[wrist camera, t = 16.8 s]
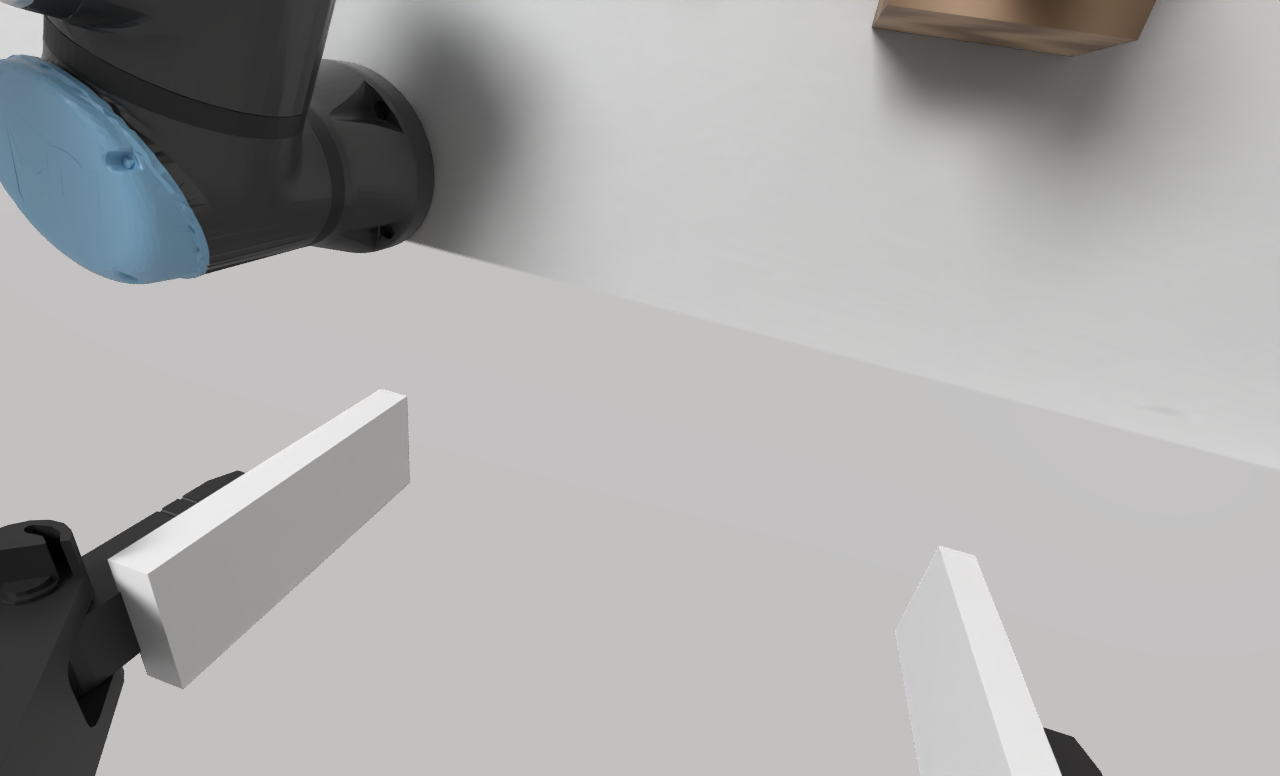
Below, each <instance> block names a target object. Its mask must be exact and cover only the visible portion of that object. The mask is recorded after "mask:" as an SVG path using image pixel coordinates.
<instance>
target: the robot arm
mask: <svg viewBox="0 0 1280 776" xmlns="http://www.w3.org/2000/svg"><path fill="white" fill-rule="evenodd" d="M0 1H1V2H3V3H6V4H8V5H11V6H14V7H17V8H21V9H25V10H28V11H32V12H36V13H40V14H44V30H43V54H42V57H41V58H38V57H34V56H28V55H12V56H10V57H9V58H7V59H2V60H0V182H1V184H2V185H3V187H4V188H5V190H6V191H7V193H8V194H9V195H10V197H11V198H12V199H13V200H14V202H15V203H16V204H17V206H18V208H19V209H20V210H21V212H22V213H23V214H24V215H25V216H26V218H27V219H28V220H29V221H30V223H31V224H32V225H33V226H34V227H35V228H36V229H37V230H38V231H39V232H40V233H41V234H42V235H43V236H44V237H45V238H46V239H47V240H48V241H49V242H50V243H51V244H52V245H54V246H55V247H56V248H57V249H58V250H60V251H61V252H62V253H63V254H65V255H66V256H68V257H69V258H71V259H72V260H73V261H75V262H76V263H78V264H79V265H81V266H82V267H84V268H86V269H88V270H90V271H91V272H93V273H96V274H98V275H100V276H103V277H105V278H108V279H111V280H114V281H118V282H123V283H129V284H149V283H154V282H160V281H165V280H171V279H176V278H185V279H188V278H196V277H199V276H201V275H204V274H207V273H211V272H214V271H218V270H221V269H225V268H229V267H233V266H236V265H240V264H244V263H247V262H251V261H255V260H258V259H262V258H266V257H269V256H273V255H277V254H280V253H284V252H288V251H291V250H295V249H298V248H303V247H307V246H315V247H321V248H327V249H333V250H340V251H346V252H354V253H367V252H374V251H378V250H382V249H385V248H389V247H392V246H395V245H397V244H399V243H402V242H403V241H405V240H406V239H408V238H409V237H410V236H411V235H412V234H414V232H415V231H416V230H417V229H418V228H419V226H420V225H421V223H422V222H423V220H424V218H425V216H426V214H427V212H428V209H429V206H430V203H431V199H432V193H433V182H434V174H433V162H432V156H431V152H430V148H429V144H428V141H427V138H426V135H425V132H424V130H423V128H422V126H421V123H420V121H419V119H418V118H417V116H416V114H415V112H414V111H413V109H412V108H411V106H410V105H409V103H408V102H407V101H406V99H405V98H404V97H403V96H402V94H401V93H400V92H399V91H398V90H397V89H396V88H395V87H394V86H393V85H392V84H391V83H389V82H388V81H387V80H386V79H384V78H383V77H382V76H380V75H379V74H377V73H376V72H374V71H372V70H370V69H368V68H366V67H364V66H361V65H358V64H355V63H350V62H344V61H336V60H328V59H322V55H323V51H324V47H325V43H326V39H327V35H328V31H329V27H330V22H331V18H332V14H333V10H334V6H335V2H336V0H0ZM408 444H409V442H408V410H407V396H405V395H402V394H399V393H395V392H391V391H388V390H384V389H379V390H377V391H376V392H374V393H373V394H371V395H369V396H368V397H367V398H365V399H363V400H361V401H360V402H358V403H357V404H355V405H354V406H352V407H350V408H349V409H347V410H345V411H344V412H342V413H341V414H339V415H338V416H336V417H335V418H333V419H331V420H330V421H328V422H326V423H325V424H323V425H322V426H320V427H318V428H317V429H315V430H314V431H312V432H310V433H309V434H307V435H306V436H304V437H303V438H301V439H299V440H298V441H296V442H294V443H293V444H291V445H290V446H288V447H287V448H285V449H283V450H282V451H280V452H278V453H277V454H275V455H274V456H272V457H270V458H269V459H267V460H266V461H264V462H263V463H261V464H259V465H258V466H256V467H254V468H253V469H251V470H250V471H248V472H247V473H244V472H241V471H235V472H232V473H229V474H226V475H223V476H221V477H218V478H215V479H212V480H209V481H207V482H205V483H204V484H202V485H200V486H199V487H197V488H195V489H194V490H192V491H190V492H189V493H187V494H185V495H184V496H183V498H182V499H181V500H180V499H177V500H175V501H174V502H172V503H170V504H169V505H167V506H165V507H164V508H162V511H161V512H155V513H154V514H152V515H150V516H149V517H147V518H145V519H144V520H142V521H140V522H139V523H137V524H135V525H134V526H132V527H130V528H129V529H127V530H125V531H124V532H122V533H120V534H119V535H117V536H115V537H114V538H112V539H111V540H109V541H107V542H105V543H104V544H102V545H100V546H99V547H97V548H95V549H94V550H92V551H90V552H89V553H87V554H85V555H84V556H82V557H81V555H80V552H79V549H78V547H77V544H76V541H75V539H74V536H73V533H72V531H71V529H70V528H68V527H67V526H66V525H65V524H64V523H61V522H57V521H52V520H33V521H26V522H21V523H16V524H12V525H7V526H4V527H2V528H0V776H95V774H96V770H97V767H98V764H99V761H100V757H101V754H102V751H103V748H104V744H105V741H106V738H107V735H108V731H109V728H110V725H111V722H112V718H113V715H114V712H115V709H116V705H117V702H118V699H119V696H120V693H121V689H122V686H123V683H124V670H123V667H122V666H123V665H124V664H126V663H127V662H128V661H130V660H131V659H132V658H133V657H135V656H136V655H137V654H139V653H140V654H141V658H142V660H143V663H144V666H145V669H146V672H147V675H149V676H151V677H154V678H156V679H159V680H162V681H164V682H166V683H169V684H172V685H174V686H177V687H179V688H182V689H184V688H185V687H186V686H187V685H188V684H189V683H190V682H192V681H193V680H194V679H195V678H196V677H197V676H198V675H199V674H200V673H201V672H202V671H204V670H205V669H206V668H207V667H208V666H209V665H210V664H211V663H212V662H214V661H215V660H216V659H217V658H218V657H219V656H220V655H221V654H222V653H223V652H224V651H226V650H227V649H228V648H229V647H230V646H231V645H232V644H233V643H234V642H235V641H237V639H239V638H240V637H241V636H242V635H243V634H244V633H245V632H246V631H247V630H249V629H250V628H251V627H252V626H253V625H254V624H255V623H256V622H257V621H259V619H261V618H262V617H263V616H264V615H265V614H266V613H267V612H268V611H269V610H270V609H272V608H273V607H274V606H275V605H276V604H277V603H278V602H279V601H280V600H282V599H283V598H284V597H285V596H286V595H287V594H288V593H289V592H290V591H291V590H293V588H295V587H296V586H297V585H298V584H299V583H300V582H301V581H302V580H303V579H305V577H307V576H308V575H309V574H310V573H311V572H312V571H313V570H314V569H316V568H317V567H318V566H319V565H320V564H321V563H322V562H323V561H324V560H325V559H327V558H328V557H329V556H330V555H331V554H332V553H333V552H334V551H335V550H336V549H338V548H339V547H340V546H341V545H342V544H343V543H344V542H345V541H346V540H347V539H348V538H350V537H351V536H352V535H353V534H354V533H355V532H356V531H357V530H358V529H359V528H361V527H362V526H363V525H364V524H365V523H366V522H367V521H368V520H369V519H370V518H372V517H373V516H374V515H375V514H376V513H377V512H378V511H379V510H380V509H381V508H382V507H384V506H385V505H386V504H387V503H388V502H389V501H390V500H391V499H392V498H393V497H395V496H396V495H397V494H398V493H399V492H400V491H401V490H402V489H403V488H404V487H406V486H407V485H408V484H409V483H410V475H409V445H408ZM895 637H896V643H897V648H898V654H899V660H900V666H901V671H902V677H903V683H904V688H905V694H906V699H907V705H908V711H909V716H910V722H911V728H912V732H913V739H914V745H915V750H916V756H917V762H918V767H919V773H920V776H1102V774H1101V771H1100V770H1099V769H1098V768H1097V767H1096V765H1095V764H1094V762H1093V761H1092V760H1091V759H1090V757H1089V756H1088V755H1087V754H1086V752H1085V751H1084V750H1083V748H1082V747H1081V746H1080V745H1079V743H1078V742H1077V741H1076V740H1075V738H1074V737H1072V736H1068V735H1065V734H1062V733H1059V732H1056V731H1053V730H1050V729H1047V728H1043V726H1042V724H1041V721H1040V719H1039V716H1038V714H1037V711H1036V709H1035V706H1034V704H1033V701H1032V699H1031V696H1030V693H1029V691H1028V689H1027V686H1026V683H1025V681H1024V678H1023V676H1022V673H1021V671H1020V668H1019V666H1018V663H1017V661H1016V658H1015V655H1014V653H1013V651H1012V648H1011V646H1010V643H1009V640H1008V638H1007V635H1006V633H1005V630H1004V628H1003V625H1002V622H1001V620H1000V617H999V615H998V612H997V610H996V607H995V605H994V602H993V600H992V597H991V595H990V592H989V590H988V587H987V584H986V582H985V579H984V577H983V574H982V572H981V569H980V567H979V564H978V562H977V559H976V556H975V555H970V554H967V553H964V552H960V551H957V550H953V549H949V548H946V547H942V546H938V548H937V550H936V552H935V554H934V556H933V558H932V560H931V562H930V564H929V565H928V567H927V569H926V572H925V573H924V575H923V577H922V579H921V581H920V583H919V585H918V587H917V589H916V591H915V593H914V595H913V597H912V599H911V601H910V603H909V605H908V607H907V609H906V610H905V613H904V615H903V616H902V618H901V620H900V622H899V624H898V626H897V628H896V630H895Z"/></svg>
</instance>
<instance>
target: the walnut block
mask: <svg viewBox="0 0 1280 776" xmlns="http://www.w3.org/2000/svg"><path fill="white" fill-rule="evenodd" d="M1155 2H1156V0H879V3H878V7H877V10H876V14H875V17H874V21H873V24H872V27H873V28H880V29H887V30H893V31H900V32H907V33H914V34H921V35H928V36H934V37H941V38H948V39H955V40H962V41H969V42H976V43H982V44H989V45H996V46H1003V47H1010V48H1017V49H1024V50H1030V51H1037V52H1044V53H1051V54H1058V55H1065V56H1075V55H1079V54H1083V53H1087V52H1091V51H1095V50H1099V49H1103V48H1107V47H1111V46H1115V45H1119V44H1123V43H1127V42H1131V41H1135V40H1138V38H1139V36H1140V34H1141V32H1142V30H1143V27H1144V25H1145V23H1146V21H1147V19H1148V17H1149V15H1150V13H1151V10H1152V8H1153V6H1154V4H1155Z"/></svg>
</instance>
